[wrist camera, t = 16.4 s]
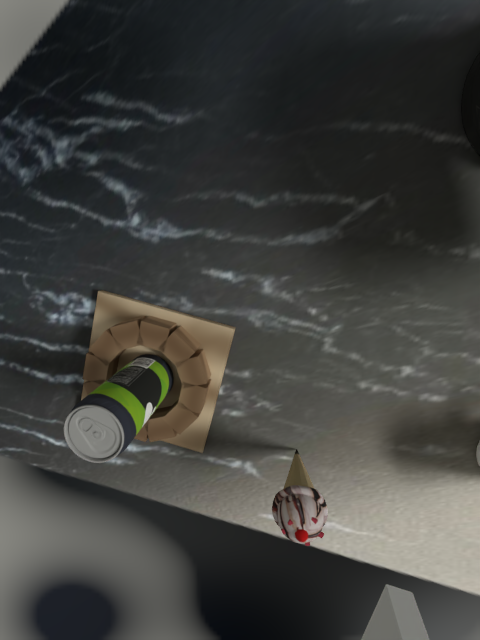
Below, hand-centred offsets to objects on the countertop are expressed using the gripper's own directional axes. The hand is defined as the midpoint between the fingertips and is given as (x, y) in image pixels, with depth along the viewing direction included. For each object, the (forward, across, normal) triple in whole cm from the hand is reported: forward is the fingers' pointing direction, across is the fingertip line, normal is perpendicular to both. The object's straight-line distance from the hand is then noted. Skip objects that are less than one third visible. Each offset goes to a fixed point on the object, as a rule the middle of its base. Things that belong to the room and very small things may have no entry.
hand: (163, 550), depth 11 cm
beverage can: (+34, -11, -11) cm, 37 cm away
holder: (+35, -11, -11) cm, 38 cm away
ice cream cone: (+35, +10, -16) cm, 40 cm away
